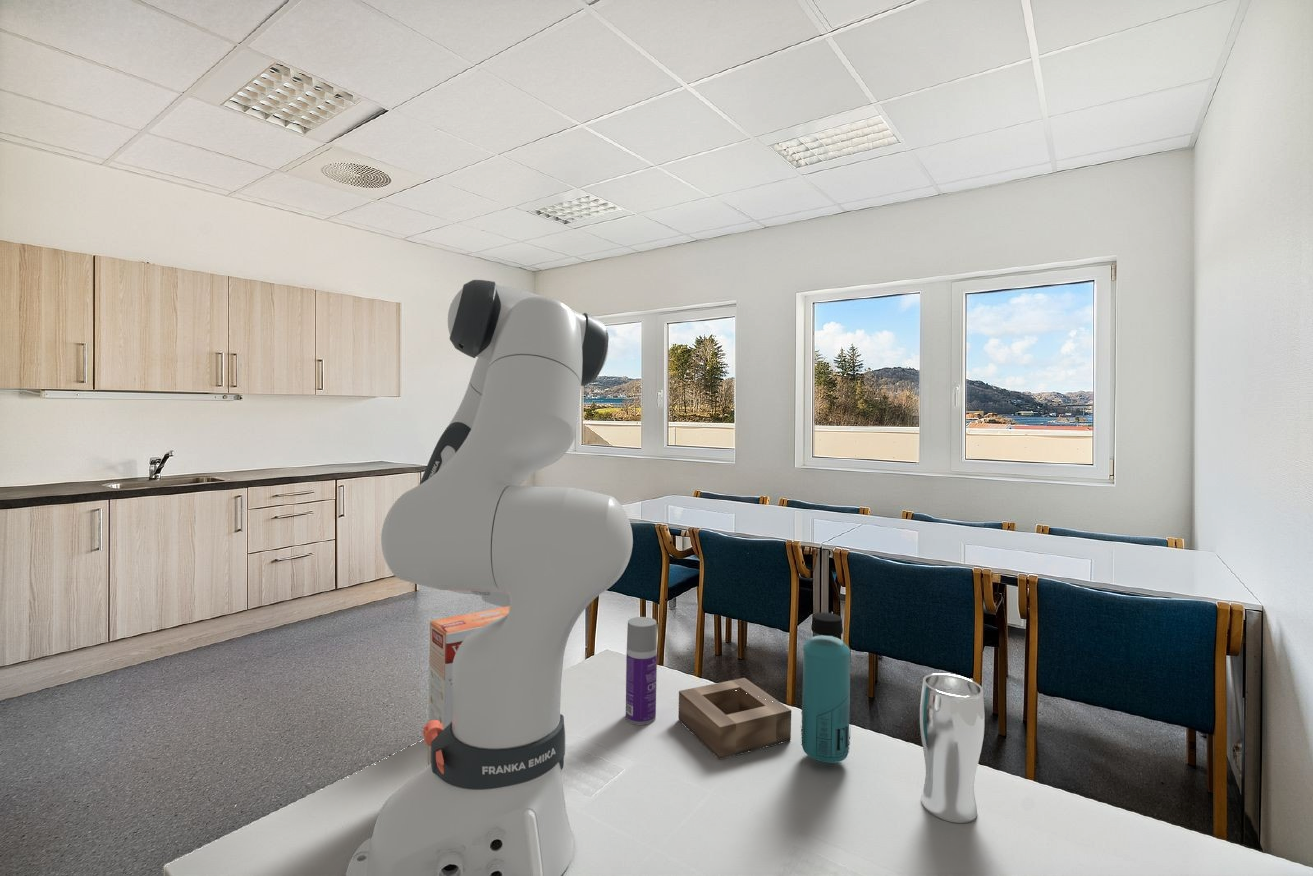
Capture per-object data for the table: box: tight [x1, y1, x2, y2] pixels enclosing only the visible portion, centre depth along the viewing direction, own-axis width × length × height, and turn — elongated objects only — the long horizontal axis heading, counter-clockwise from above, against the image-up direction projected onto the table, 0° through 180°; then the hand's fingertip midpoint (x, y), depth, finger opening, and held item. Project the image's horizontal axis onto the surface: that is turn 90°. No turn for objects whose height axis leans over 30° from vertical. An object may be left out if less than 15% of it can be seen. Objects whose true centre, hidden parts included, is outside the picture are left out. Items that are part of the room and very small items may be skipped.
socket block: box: [677, 677, 792, 761], centre depth 91 cm, size 12×12×4 cm
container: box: [625, 616, 658, 726], centre depth 94 cm, size 5×5×15 cm
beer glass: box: [919, 672, 985, 824], centre depth 74 cm, size 7×7×15 cm
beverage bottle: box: [800, 612, 852, 763], centre depth 83 cm, size 6×7×20 cm
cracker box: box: [427, 606, 510, 766], centre depth 78 cm, size 14×6×21 cm, turn 129°
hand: (575, 585), depth 99 cm, fingers open, 8 cm apart
